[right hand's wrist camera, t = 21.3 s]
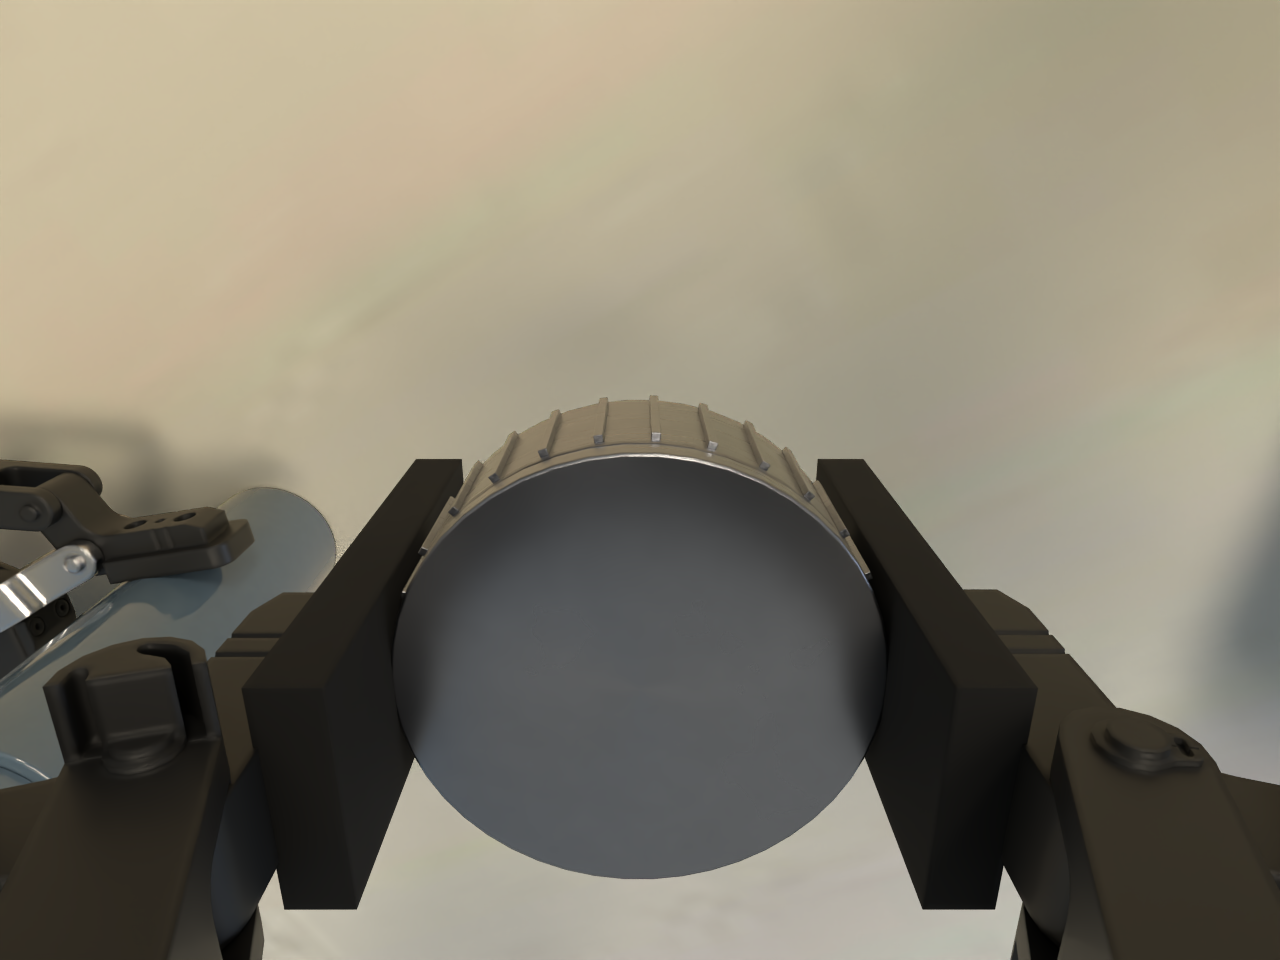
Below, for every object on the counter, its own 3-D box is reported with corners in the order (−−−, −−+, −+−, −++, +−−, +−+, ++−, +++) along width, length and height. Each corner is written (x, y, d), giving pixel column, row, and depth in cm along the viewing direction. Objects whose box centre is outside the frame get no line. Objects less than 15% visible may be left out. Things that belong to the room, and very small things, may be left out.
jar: (340, 499, 33) (27, 836, 16) (332, 609, 34) (40, 1016, 18) (212, 476, 32) (-239, 796, 16) (210, 587, 34) (-201, 982, 17)
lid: (385, 707, 13) (334, 815, 11) (492, 330, 11) (457, 369, 9) (756, 811, 14) (777, 932, 11) (922, 474, 12) (986, 544, 9)
